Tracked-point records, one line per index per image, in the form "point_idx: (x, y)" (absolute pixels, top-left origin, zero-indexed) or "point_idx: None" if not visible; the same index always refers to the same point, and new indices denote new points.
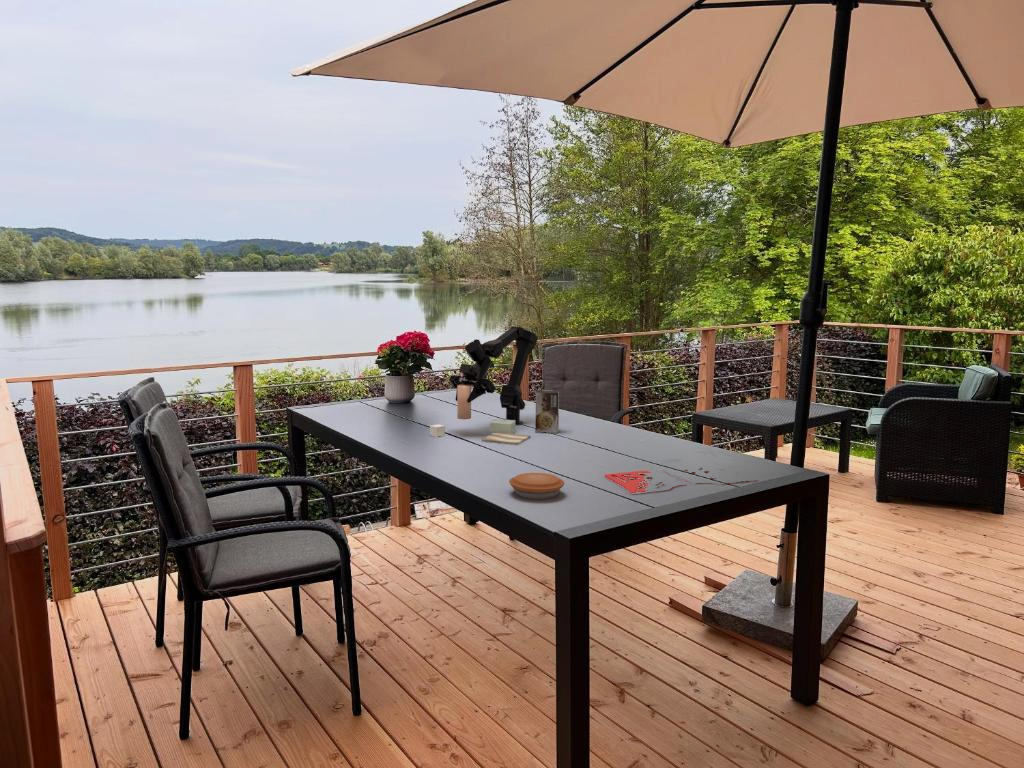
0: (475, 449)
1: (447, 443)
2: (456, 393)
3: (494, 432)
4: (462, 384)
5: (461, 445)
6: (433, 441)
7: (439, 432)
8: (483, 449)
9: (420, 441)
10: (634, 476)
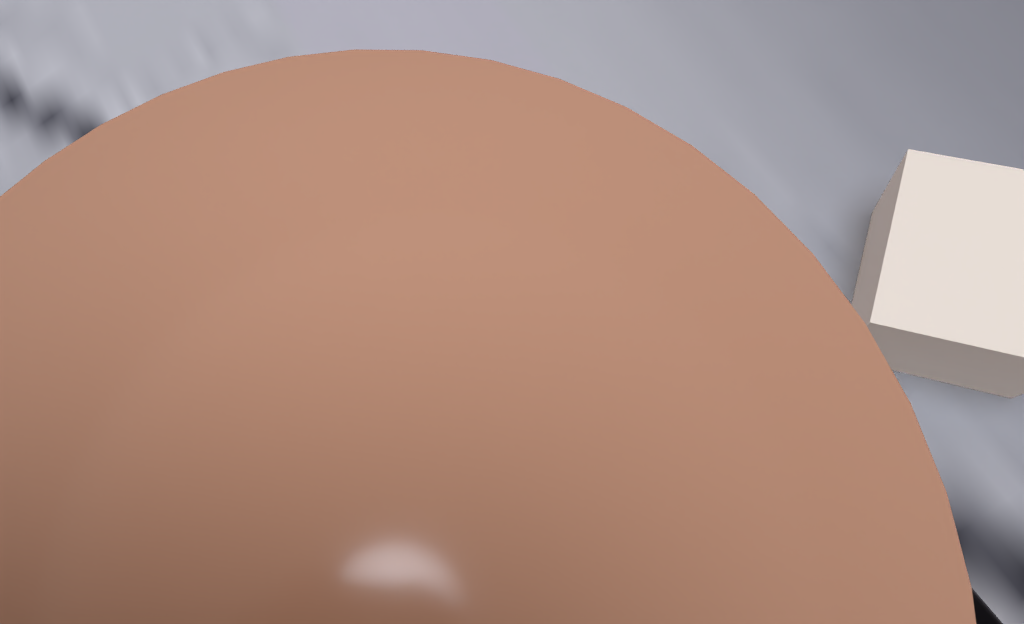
0: (136, 6)
1: (530, 32)
2: (978, 607)
3: None
4: None
5: None
6: (740, 8)
7: (875, 238)
8: (69, 54)
9: None
10: None
